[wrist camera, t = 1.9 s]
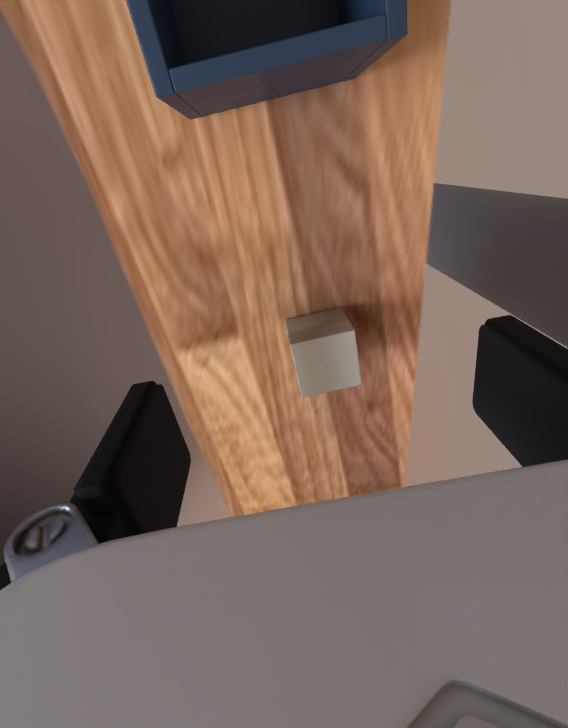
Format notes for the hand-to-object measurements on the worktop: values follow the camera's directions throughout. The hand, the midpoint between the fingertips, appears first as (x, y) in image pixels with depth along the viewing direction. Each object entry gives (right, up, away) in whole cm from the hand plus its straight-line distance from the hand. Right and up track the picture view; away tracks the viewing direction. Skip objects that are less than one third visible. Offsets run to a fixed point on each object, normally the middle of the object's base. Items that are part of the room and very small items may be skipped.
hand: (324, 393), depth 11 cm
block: (+1, +3, +16) cm, 16 cm away
